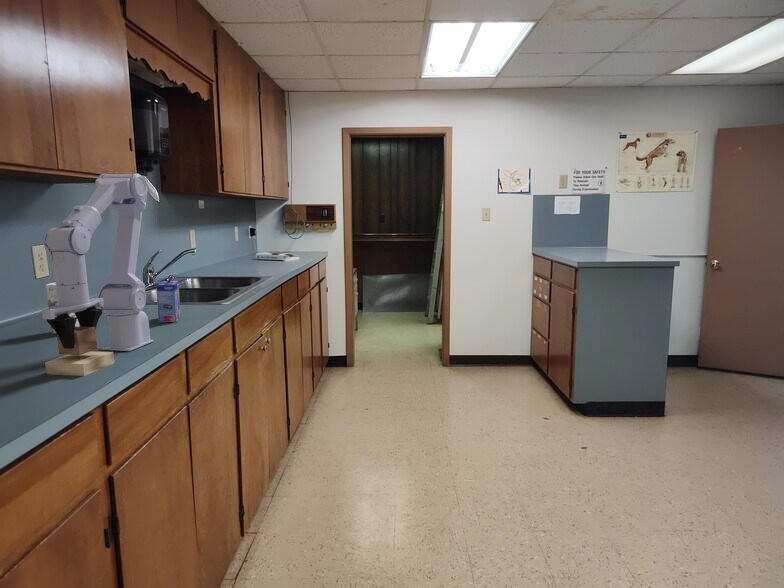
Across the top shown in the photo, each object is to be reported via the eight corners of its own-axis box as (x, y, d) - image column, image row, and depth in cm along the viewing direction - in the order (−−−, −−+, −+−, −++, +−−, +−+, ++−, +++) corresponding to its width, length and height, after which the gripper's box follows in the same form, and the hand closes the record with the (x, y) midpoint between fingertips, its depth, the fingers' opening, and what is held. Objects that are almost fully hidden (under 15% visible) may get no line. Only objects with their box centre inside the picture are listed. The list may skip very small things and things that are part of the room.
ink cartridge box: (177, 322, 150) (174, 277, 148) (158, 323, 149) (154, 277, 146) (181, 316, 160) (178, 273, 157) (163, 317, 158) (159, 273, 156)
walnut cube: (77, 347, 108) (74, 326, 107) (97, 348, 107) (94, 327, 106) (59, 354, 103) (56, 331, 102) (79, 355, 102) (77, 332, 102)
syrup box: (83, 329, 141) (78, 281, 139) (71, 334, 136) (65, 283, 133) (64, 329, 141) (58, 281, 139) (50, 334, 135) (44, 284, 133)
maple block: (79, 363, 111) (78, 350, 110) (114, 364, 110) (113, 352, 109) (46, 375, 102) (45, 362, 102) (84, 377, 101) (82, 364, 100)
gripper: (81, 278, 110) (88, 335, 113) (25, 288, 96) (34, 353, 98) (109, 279, 109) (115, 336, 112) (56, 288, 95) (64, 354, 97)
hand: (79, 344), depth 105 cm, fingers closed on walnut cube, 5 cm apart
